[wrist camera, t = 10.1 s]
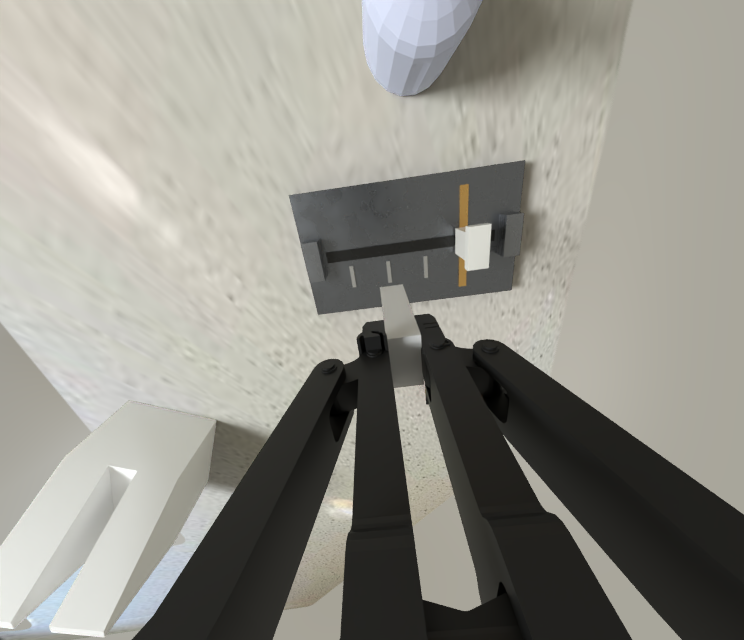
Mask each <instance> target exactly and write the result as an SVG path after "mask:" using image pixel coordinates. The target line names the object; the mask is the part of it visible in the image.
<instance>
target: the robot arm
mask: <svg viewBox="0 0 744 640" xmlns="http://www.w3.org/2000/svg"><path fill="white" fill-rule="evenodd" d="M380 293H381V301H382V309H383V318H384V320H381V321H373V322H366V323H365V325H364V326H363V331H362V333H361V334H359V335H358V337H357V344H358V350H359V358H358V359H356V360H355V361H353V362H350V363H348V364H345V365H344V364H343V362H342V361H340V360H338V359H328V360H325V361H322V362H321V363H319V364H318V365H317V366H316V367H315V368H314V369H313V371H312V372H311V374H310V375H309V377H308V379H307V380H306V382H305V383H304V385H303V386H302V388H301V389H300V391H299V392H298V394H297V395H296V397H295V399H294V400H293V402H292V403H291V405H290V406H289V408H288V409H287V411H286V412H285V414H284V415H283V417H282V419H281V420H280V422H279V423H278V425H277V426H276V428H275V429H274V431H273V432H272V434H271V436H270V437H269V439H268V440H267V442H266V443H265V445H264V446H263V448H262V449H261V451H260V452H259V454H258V456H257V457H256V459H255V460H254V462H253V463H252V465H251V466H250V468H249V469H248V471H247V472H246V474H245V476H244V477H243V479H242V480H241V482H240V483H239V485H238V486H237V488H236V489H235V491H234V492H233V494H232V496H231V497H230V499H229V500H228V502H227V503H226V505H225V506H224V508H223V509H222V511H221V512H220V514H219V516H218V517H217V519H216V520H215V522H214V523H213V525H212V526H211V528H210V529H209V531H208V532H207V534H206V536H205V537H204V539H203V540H202V542H201V543H200V545H199V546H198V548H197V549H196V551H195V552H194V554H193V556H192V557H191V559H190V560H189V562H188V563H187V565H186V566H185V568H184V569H183V571H182V573H181V574H180V576H179V577H178V579H177V580H176V582H175V583H174V585H173V586H172V588H171V589H170V591H169V593H168V594H167V596H166V597H165V599H164V600H163V602H162V603H161V605H160V606H159V608H158V609H157V611H156V613H155V614H154V616H153V617H152V618H151V619H150V620H149V621H148V622H147V623H146V625H145V626H144V627H143V628H142V629H141V630H140V631H139V632H138V633H137V635H136V636H135V637H134V638H133V639H132V640H273V637H274V634H275V631H276V628H277V625H278V623H279V620H280V617H281V615H282V612H283V609H284V606H285V603H286V601H287V598H288V595H289V592H290V590H291V587H292V584H293V581H294V578H295V576H296V573H297V570H298V567H299V564H300V562H301V559H302V556H303V553H304V551H305V548H306V545H307V542H308V539H309V537H310V534H311V531H312V528H313V526H314V523H315V520H316V517H317V514H318V512H319V509H320V506H321V503H322V500H323V498H324V495H325V492H326V489H327V487H328V484H329V481H330V478H331V475H332V473H333V470H334V467H335V464H336V462H337V459H338V456H339V453H340V450H341V448H342V445H343V442H344V439H345V437H346V434H347V431H348V428H349V425H350V423H351V420H352V417H353V414H354V409H356V408H357V423H356V446H355V469H354V492H353V516H352V527H351V530H350V532H349V533H348V536H347V541H346V551H345V568H344V586H343V602H342V619H341V636H340V637H341V638H340V640H632V639H631V637H630V635H629V634H628V632H627V630H626V628H625V627H624V625H623V623H622V621H621V620H620V618H619V616H618V615H617V613H616V611H615V609H614V608H613V606H612V604H611V603H610V601H609V599H608V597H607V596H606V594H605V592H604V591H603V589H602V587H601V585H600V584H599V582H598V580H597V579H596V577H595V575H594V573H593V572H592V570H591V568H590V566H589V565H588V563H587V561H586V560H585V558H584V556H583V555H582V553H581V551H580V549H579V548H578V546H577V544H576V542H575V541H574V539H573V537H572V536H571V534H570V532H569V531H568V529H567V528H566V527H565V525H564V523H563V522H562V521H561V520H560V519H559V518H558V517H557V516H556V515H555V514H552V513H549V512H546V511H545V510H544V508H543V507H542V506H541V504H540V502H539V501H538V499H537V497H536V495H535V493H534V492H533V490H532V488H531V486H530V484H529V482H528V480H527V478H526V477H525V475H524V473H523V471H522V469H521V467H520V466H519V464H518V462H517V460H516V458H515V456H514V455H513V453H512V451H511V449H510V447H509V445H508V443H507V442H506V440H505V438H504V436H505V437H506V439H507V440H508V441H509V442H510V443H511V444H512V445H513V447H514V448H515V449H516V450H517V451H518V452H519V454H520V455H521V456H522V457H523V458H524V459H525V460H526V462H528V464H529V465H530V466H531V467H532V469H533V470H534V471H535V472H536V473H537V474H538V475H539V476H540V478H541V479H542V480H543V481H544V482H545V483H546V485H547V486H548V487H549V488H550V489H551V490H552V492H553V493H554V494H555V495H556V496H557V497H558V499H559V500H560V501H561V502H562V503H563V504H564V506H565V507H566V508H567V509H568V510H569V511H570V512H571V514H572V515H573V516H574V517H575V518H576V519H577V521H578V522H579V523H580V524H581V525H582V526H583V527H584V529H585V530H586V531H587V532H588V533H589V534H590V536H591V537H592V538H593V539H594V540H595V541H596V542H597V544H598V545H599V546H600V547H601V548H602V549H603V550H604V552H605V553H606V554H607V555H608V556H609V557H610V559H611V560H612V561H613V562H614V563H615V564H616V565H617V567H618V568H619V569H620V570H621V571H622V572H623V574H624V575H625V576H626V577H627V578H628V579H629V581H630V582H631V583H632V584H633V585H634V586H635V588H636V589H637V590H638V591H639V592H640V593H641V594H642V596H643V597H644V598H645V599H646V600H647V601H648V602H649V604H650V605H651V606H652V607H653V608H654V609H655V610H656V612H657V613H658V614H659V615H660V616H661V617H662V618H663V619H664V620H665V622H666V623H667V624H668V625H669V626H670V627H671V628H672V629H673V630H674V631H675V633H676V634H677V635H678V636H679V637H680V638H681V639H682V640H744V515H743V514H742V513H741V512H739V511H738V510H736V509H735V508H734V507H732V506H731V505H729V504H728V503H727V502H725V501H724V500H722V499H721V498H719V497H718V496H717V495H715V494H714V493H713V492H711V491H710V490H708V489H707V488H705V487H704V486H703V485H701V484H700V483H698V482H697V481H696V480H694V479H693V478H691V477H690V476H689V475H687V474H686V473H684V472H683V471H682V470H680V469H679V468H677V467H676V466H675V465H673V464H672V463H670V462H669V461H668V460H666V459H665V458H663V457H662V456H661V455H659V454H658V453H656V452H655V451H654V450H652V449H651V448H649V447H648V446H647V445H645V444H644V443H642V442H641V441H639V440H638V439H636V438H635V437H634V436H632V435H631V434H630V433H628V432H627V431H625V430H624V429H623V428H621V427H620V426H618V425H617V424H616V423H614V422H613V421H611V420H610V419H609V418H607V417H606V416H604V415H603V414H601V413H600V412H599V411H597V410H596V409H594V408H593V407H591V406H590V405H589V404H587V403H586V402H585V401H583V400H582V399H580V398H579V397H578V396H576V395H575V394H573V393H572V392H570V391H569V390H568V389H566V388H565V387H564V386H562V385H561V384H559V383H558V382H557V381H555V380H554V379H552V378H551V377H550V376H548V375H547V374H545V373H544V372H542V371H541V370H540V369H538V368H537V367H535V366H534V365H533V364H531V363H530V362H528V361H527V360H526V359H524V358H523V357H521V356H520V355H519V354H517V353H516V352H514V351H513V350H512V349H510V348H509V347H507V346H506V345H505V344H503V343H501V342H499V341H495V340H490V339H486V340H480V341H477V342H475V344H474V345H473V349H466V348H459V347H455V346H454V344H453V342H452V341H451V340H449V339H447V338H445V336H444V334H443V333H442V331H441V329H440V327H439V325H438V323H437V321H436V319H435V317H433V316H432V315H430V314H423V315H415V316H414V314H413V311H412V309H411V306H410V303H409V300H408V298H407V295H406V292H405V289H404V287H403V284H401V285H394V286H386V287H380ZM423 377H424V378H423ZM424 381H425V389H426V404H429V406H430V409H431V413H432V416H433V420H434V424H435V427H436V431H437V434H438V438H439V442H440V445H441V449H442V452H443V456H444V459H445V463H446V467H447V470H448V474H449V477H450V481H451V485H452V488H453V492H454V495H455V499H456V502H457V506H458V509H459V513H460V517H461V520H462V524H463V527H464V531H465V534H466V538H467V541H468V545H469V549H470V552H471V556H472V560H473V563H474V567H475V571H476V576H477V582H478V589H479V595H480V599H481V604H482V605H480V606H478V607H476V608H474V609H472V610H470V611H461V610H457V609H453V608H450V607H446V606H443V605H439V604H436V603H432V602H429V601H425V600H422V594H421V586H420V580H419V572H418V564H417V557H416V549H415V542H414V535H413V527H412V521H411V513H410V506H409V499H408V491H407V484H406V476H405V469H404V461H403V454H402V446H401V439H400V431H399V424H398V417H397V409H396V402H395V394H394V388H397V387H406V386H415V385H423V384H424ZM503 435H504V436H503Z"/></svg>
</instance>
